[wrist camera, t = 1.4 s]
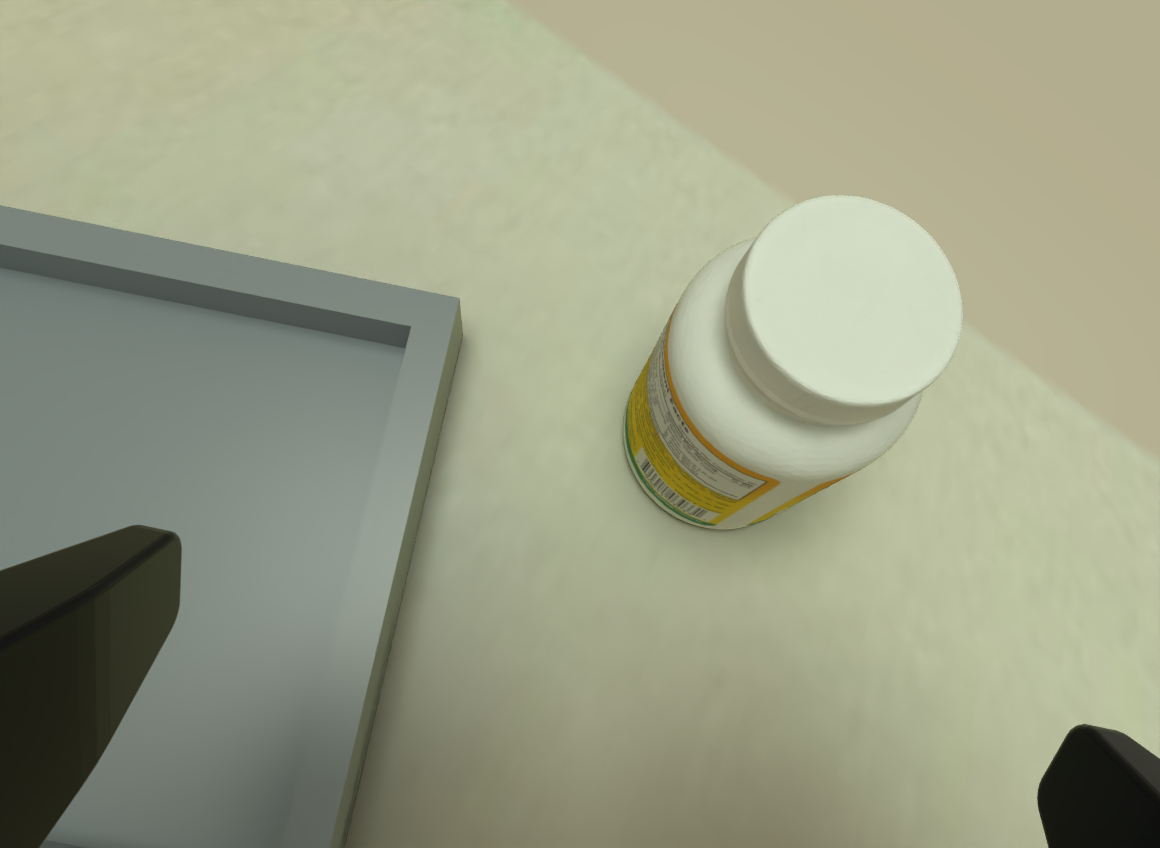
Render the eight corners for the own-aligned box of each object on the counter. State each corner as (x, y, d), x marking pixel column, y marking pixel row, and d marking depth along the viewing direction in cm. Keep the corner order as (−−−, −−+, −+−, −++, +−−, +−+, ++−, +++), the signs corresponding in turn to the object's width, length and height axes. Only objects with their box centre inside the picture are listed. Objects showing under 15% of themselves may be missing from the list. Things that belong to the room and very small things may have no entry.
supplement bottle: (621, 531, 23) (705, 440, 14) (619, 343, 25) (694, 150, 16) (816, 533, 24) (1020, 449, 15) (803, 350, 25) (981, 167, 16)
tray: (325, 928, 20) (302, 963, 18) (-341, 815, 19) (-459, 835, 17) (462, 334, 24) (459, 298, 22) (-80, 226, 24) (-144, 176, 21)
